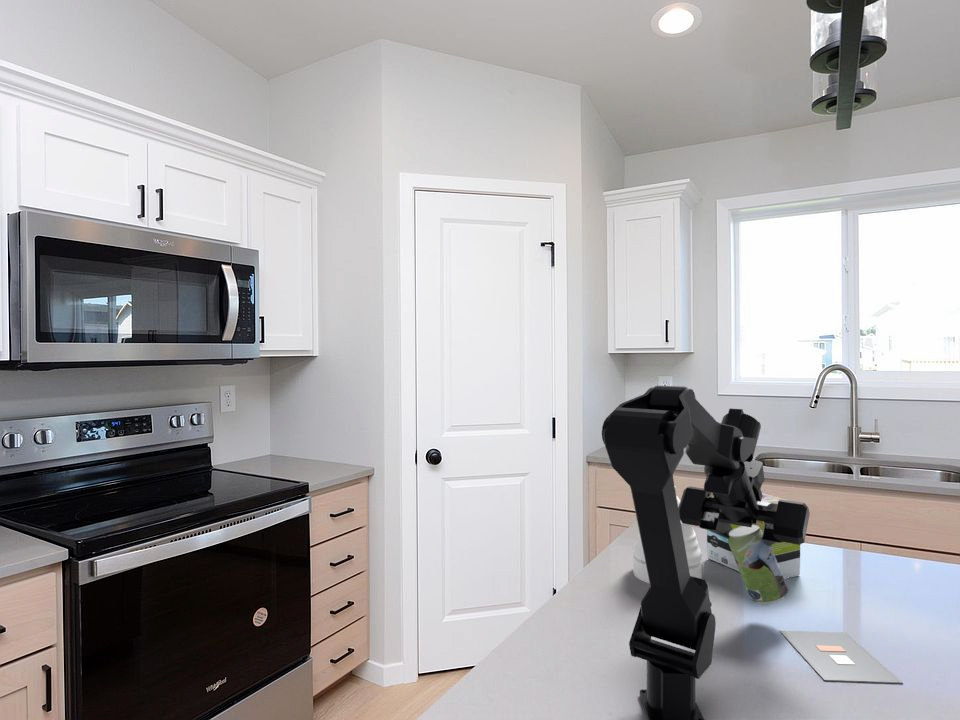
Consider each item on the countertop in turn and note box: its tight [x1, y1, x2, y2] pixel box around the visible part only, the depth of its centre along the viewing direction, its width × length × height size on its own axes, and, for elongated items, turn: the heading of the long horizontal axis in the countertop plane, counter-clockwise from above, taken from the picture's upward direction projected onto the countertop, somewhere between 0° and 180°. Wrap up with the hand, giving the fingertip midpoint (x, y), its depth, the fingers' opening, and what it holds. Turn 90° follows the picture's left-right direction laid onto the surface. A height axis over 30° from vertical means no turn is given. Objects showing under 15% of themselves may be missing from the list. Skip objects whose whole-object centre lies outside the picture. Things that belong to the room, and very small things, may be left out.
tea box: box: [706, 492, 801, 580], centre depth 121 cm, size 15×10×15 cm, turn 25°
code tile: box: [779, 630, 904, 685], centre depth 87 cm, size 14×10×1 cm
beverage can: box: [728, 525, 789, 605], centre depth 98 cm, size 6×7×12 cm
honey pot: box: [632, 485, 703, 585], centre depth 118 cm, size 13×13×18 cm
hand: (750, 541), depth 100 cm, fingers closed on beverage can, 6 cm apart
